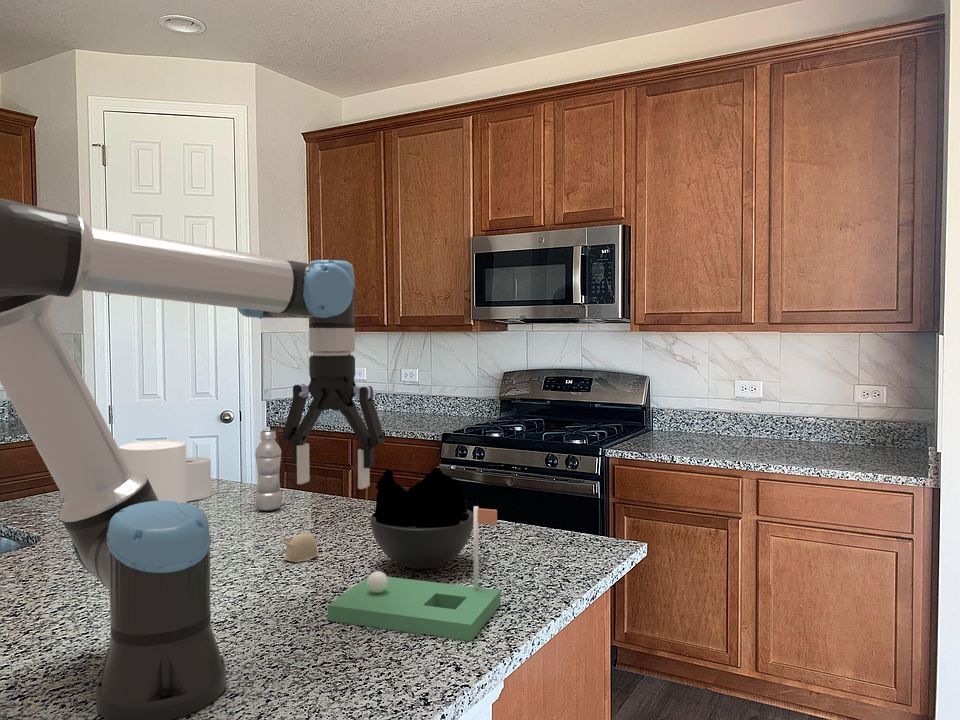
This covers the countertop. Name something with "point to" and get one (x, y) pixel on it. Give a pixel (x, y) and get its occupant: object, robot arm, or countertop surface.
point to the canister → (160, 466)
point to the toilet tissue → (198, 478)
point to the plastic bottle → (268, 472)
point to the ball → (377, 582)
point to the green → (423, 602)
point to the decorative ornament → (300, 547)
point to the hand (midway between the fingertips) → (333, 485)
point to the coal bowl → (421, 520)
